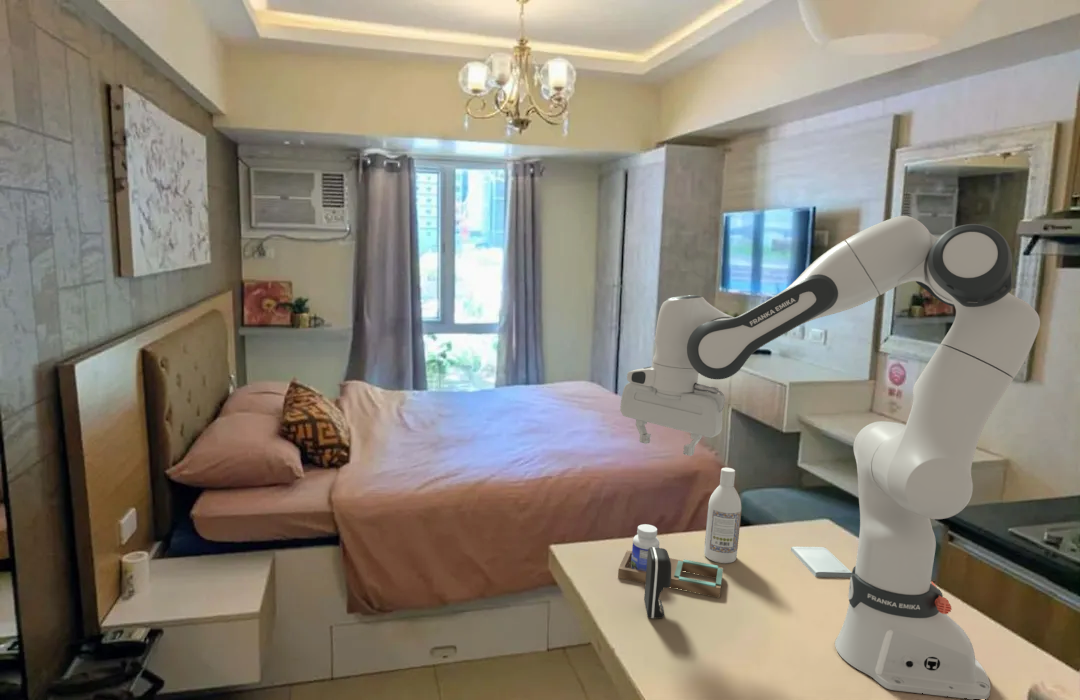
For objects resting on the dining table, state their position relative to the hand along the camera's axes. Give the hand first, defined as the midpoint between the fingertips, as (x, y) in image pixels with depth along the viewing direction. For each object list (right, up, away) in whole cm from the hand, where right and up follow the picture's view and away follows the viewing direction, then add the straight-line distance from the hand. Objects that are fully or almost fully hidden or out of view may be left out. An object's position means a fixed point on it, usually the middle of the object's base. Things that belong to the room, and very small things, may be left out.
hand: (666, 448), depth 132 cm
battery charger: (-3, -29, -6) cm, 30 cm away
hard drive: (+37, -28, +17) cm, 49 cm away
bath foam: (+15, -27, +17) cm, 35 cm away
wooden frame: (+2, -27, +7) cm, 28 cm away
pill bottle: (-3, -27, +8) cm, 28 cm away
